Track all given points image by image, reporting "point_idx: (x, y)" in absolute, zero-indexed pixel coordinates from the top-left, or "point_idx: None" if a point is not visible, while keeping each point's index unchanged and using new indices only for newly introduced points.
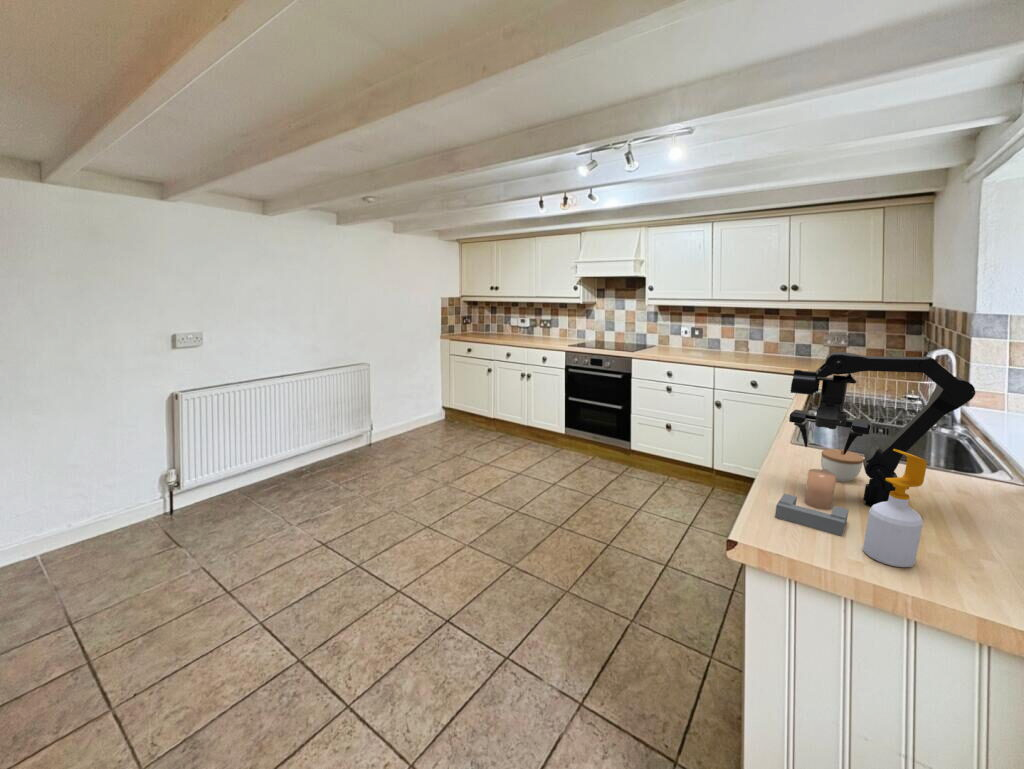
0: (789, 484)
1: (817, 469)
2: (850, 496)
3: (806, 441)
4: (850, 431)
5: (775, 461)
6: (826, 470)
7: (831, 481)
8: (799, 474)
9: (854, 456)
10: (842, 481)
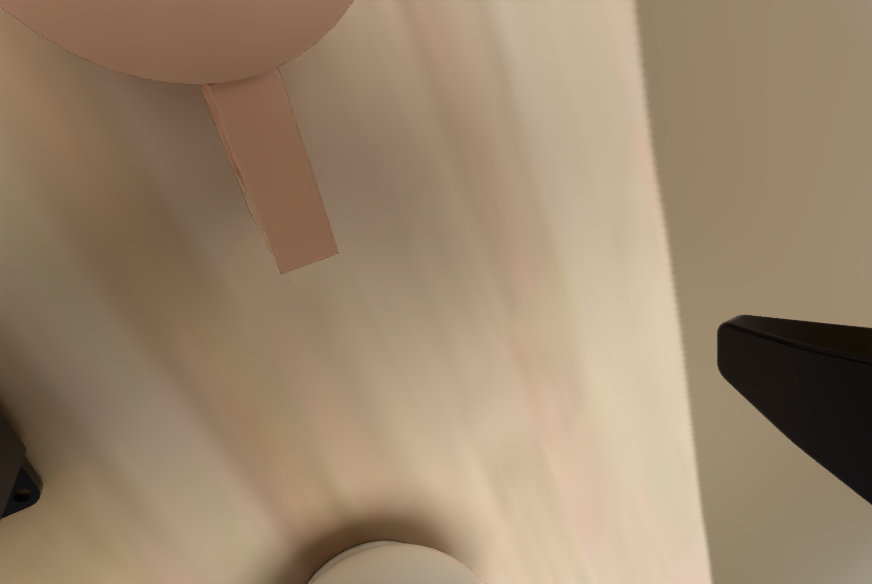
0: (509, 194)
1: (323, 10)
2: (130, 393)
3: (835, 346)
4: None
5: (681, 466)
6: (276, 220)
7: None
8: (533, 423)
9: None
10: (320, 569)
